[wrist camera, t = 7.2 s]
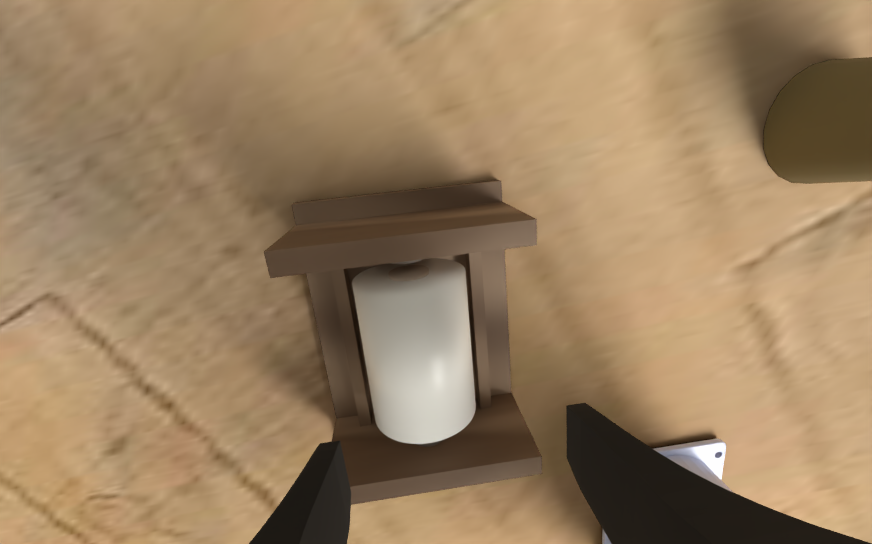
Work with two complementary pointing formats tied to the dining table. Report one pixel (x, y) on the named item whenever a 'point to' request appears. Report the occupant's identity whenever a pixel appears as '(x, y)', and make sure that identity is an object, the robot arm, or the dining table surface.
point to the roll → (417, 348)
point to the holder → (487, 304)
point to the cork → (823, 124)
